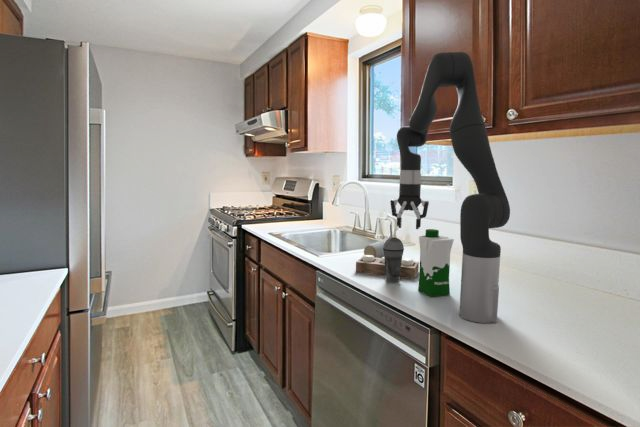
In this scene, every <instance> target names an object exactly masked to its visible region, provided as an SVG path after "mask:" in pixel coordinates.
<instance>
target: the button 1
mask: <svg viewBox="0 0 640 427" xmlns="http://www.w3.org/2000/svg"><path fill="white" fill-rule="evenodd" d="M362 257H363V261H366V262H374V256H373V255H364V254H363V255H362Z"/></svg>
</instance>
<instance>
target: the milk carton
mask: <svg viewBox="0 0 640 427" xmlns="http://www.w3.org/2000/svg"><path fill="white" fill-rule="evenodd" d="M418 240H419V241H418V242H419V270H418V274H419V275H418V286H417V287H418V288H417V290H418V291H419V292H421V293H422V294H425V295H426V296H428V297H430V298H437V297H445V296H449V295H451V294H450V293H451V292H450V291H451V289H450V270H451V269H450V268H451V267H450V264H451V253H452V248H453V244H454V239H453V238H450V237H447V236H445V235H440V234H439V229H435V228H434V229H433V228H432V229H431V228H429V229H425V235H418Z"/></svg>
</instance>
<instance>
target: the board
mask: <svg viewBox="0 0 640 427" xmlns="http://www.w3.org/2000/svg"><path fill="white" fill-rule="evenodd" d="M419 271H420V261H416V260H415V261H414V262H413V266H405V265H401V271H400V278H403V279H410V280H411V279H413V280H415V279H416V277H417V276H418V274H419ZM355 273H360V274H367V275H375V274H376V275H377V276H384V277H386V275H385V263H382V258H374V262H366V261H363V256H362V257H360V258H359V259H358V260H357V261H356V262H355Z"/></svg>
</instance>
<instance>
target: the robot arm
mask: <svg viewBox="0 0 640 427" xmlns="http://www.w3.org/2000/svg"><path fill="white" fill-rule="evenodd" d="M476 84H477V82H476V77H475V72H474V65H473V61H472V58H471V57H470V55H469V54H468V53H466V52H463V51H454V52H453V51H451V52H449V51H448V52H438V53H435V55H434V56H432V58H431V60H430V62H429V63H428V66H427V70H426V73H425V76H424V80H423V83H422V86H421V91H420V95H419V98H418V101H417V104H416V106H415V108H414V110H413V112H412V113H411V116H410V118H409V121H408V125H409V126H401V127H400V128H398V130H397V132H396V142H397V145H398V149H399V154H400V155H399V156H400V172H399V174H400V175H399V191H398V192H399V194H398V199H391V200H390V210H391V215H392V217H395V218H396V227H397V228H398V229H401V228H402V222H403V221H402V215H403V213H404V212H405V211H411V212H412V211H413V213H414V214H415V216H416V219H415V220H416V221H415V229H416V230H419V229H420V227H421V224H422V219H425V218H426V217H427V213H428V209H429V204H430V202H429V200H422V198H421V189H422V188H421V186H422V185H421V184H422V174H421V172H422V171H421V167H422V164H421V162H422V156H421V154H419V153H414V152H413V151H412V152H411V150H410V149H409V147H410V148H411V147H413V148H416V147H417V148H421V147H422V146H424V145H425V144H426V143H427V141H428V140H427V139H428V133H429V128H430V126H431V125H432V123H433V121H434V119H435V118H436V115H437V112H438V111H437V110H438V105H437V101H436V98H435V93H436V91H437V90H438V89H439V87H440V88H443V87H445V88H446V87H455V88H456V92H457V99H458V103H457V107H456V110H455V112H454V114H453V117H452V119H451V121H450V125H449V137H450V141H451V146H452V149H453V152H454V154H455V156H456V158H457V159H458V161H459V162H460V163H461V165H462V166H463V167H464V168H465V169H466V171H467V172H468V173H469V175H470V176H471V178H472V179H473V181H474V183H475V186H476V189H477V193H473V194H469V195H467V196H466V197H465V198H464V200H463V201H462V204H461V207H460V217H459V223H460V224H459V226H460V227H459V228H460V229H459V230H460V233H459V234H460V242H461V246H462V259H461V260H462V262H461V279H460V296H459V298H460V299H459V316H460V317H461V318H463V319H464V320H467V321H470V322H474V323H479V324H480V323H482V324H488V323H489V324H490V323H495V324H497V323H498V308H499V297H500V296H499V294H500V293H499V292H500V285H499V281H500V280H499V279H500V269H501V268H500V266H501V264H500V263H501V250H502V248H501V244H499V243H498V242H494V241H492V240H491V238H490V229H498V228H502V227H504V226H506V224H507V223H508V222H509V220H510V215H511V207H510V203H509V200H508V197H507V194H506V191H505V189H504V186H503V183H502V182H501V181H502V180H501V178H500V175H499V173H498V170H497V167H496V163H495V160H494V156H493V153H492V149H491V145H490V140H489V136H488V133H487V127H486V124H485V122H484V117H483V113H482V110H481V107H480V106H481V105H480V102H479V101H480V100H479V96H478V92H477V85H476ZM397 204H398V205H400V208H399V211H398V212H397V208H396V206H397ZM420 205H421V206H422V207H423V210H422V214H421V213H420V210H419V206H420Z"/></svg>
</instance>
